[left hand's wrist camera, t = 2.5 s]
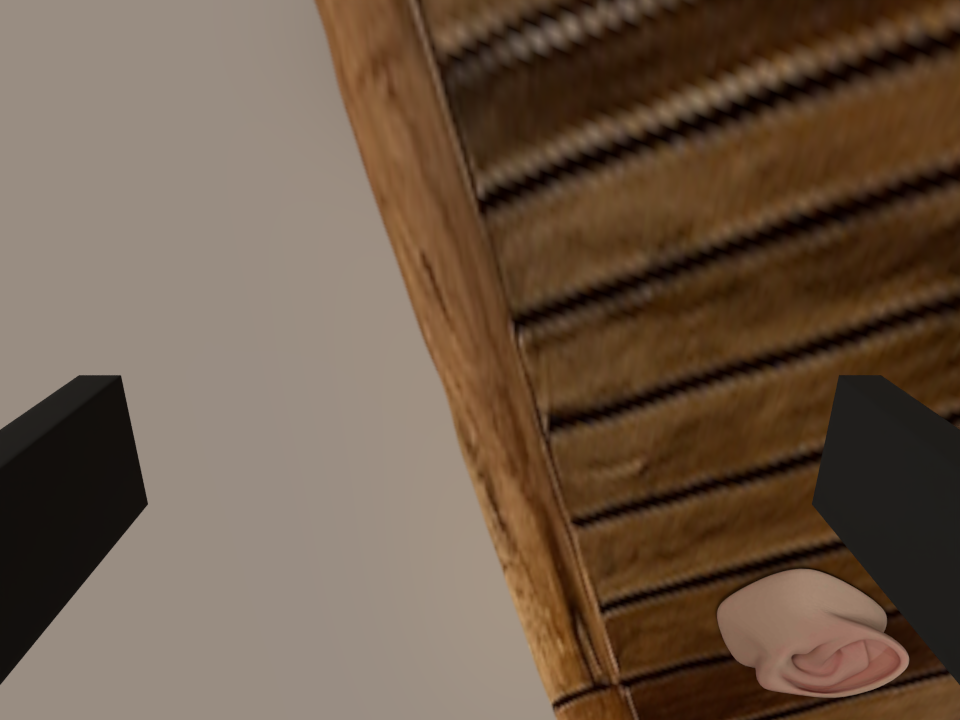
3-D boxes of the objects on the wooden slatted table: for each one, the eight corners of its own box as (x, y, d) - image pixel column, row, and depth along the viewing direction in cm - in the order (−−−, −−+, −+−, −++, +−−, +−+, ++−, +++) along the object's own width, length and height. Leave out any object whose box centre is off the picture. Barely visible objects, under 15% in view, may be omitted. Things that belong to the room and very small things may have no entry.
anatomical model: (706, 662, 52) (824, 570, 49) (691, 624, 56) (800, 537, 53) (815, 743, 55) (933, 662, 52) (794, 703, 59) (903, 625, 56)
